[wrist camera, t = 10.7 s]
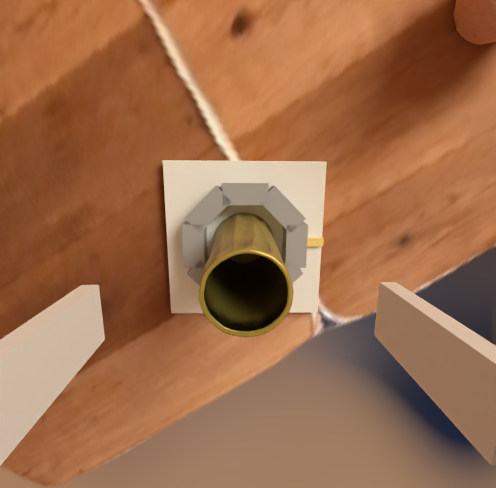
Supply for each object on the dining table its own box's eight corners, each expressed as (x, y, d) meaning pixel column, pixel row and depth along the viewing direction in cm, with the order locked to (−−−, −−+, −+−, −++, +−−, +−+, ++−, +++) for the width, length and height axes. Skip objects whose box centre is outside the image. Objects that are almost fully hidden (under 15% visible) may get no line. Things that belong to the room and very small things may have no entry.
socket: (173, 309, 32) (165, 324, 28) (165, 161, 28) (154, 158, 25) (314, 308, 32) (323, 323, 29) (323, 162, 29) (334, 159, 25)
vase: (202, 241, 29) (166, 295, 15) (244, 199, 28) (247, 215, 15) (243, 281, 30) (246, 365, 16) (285, 241, 30) (325, 294, 16)
